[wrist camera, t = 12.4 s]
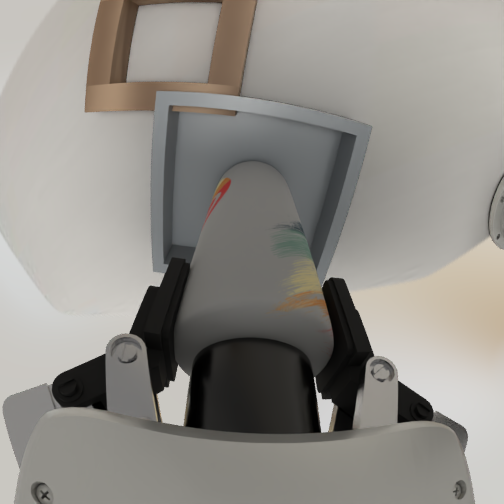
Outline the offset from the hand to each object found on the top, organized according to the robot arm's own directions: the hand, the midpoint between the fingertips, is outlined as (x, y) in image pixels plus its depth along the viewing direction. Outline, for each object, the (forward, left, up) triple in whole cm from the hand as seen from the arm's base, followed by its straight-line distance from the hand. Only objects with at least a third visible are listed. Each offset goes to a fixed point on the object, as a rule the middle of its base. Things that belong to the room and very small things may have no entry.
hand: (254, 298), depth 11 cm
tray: (0, 0, -14) cm, 14 cm away
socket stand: (+8, -12, -14) cm, 20 cm away
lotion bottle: (0, 0, -12) cm, 12 cm away
